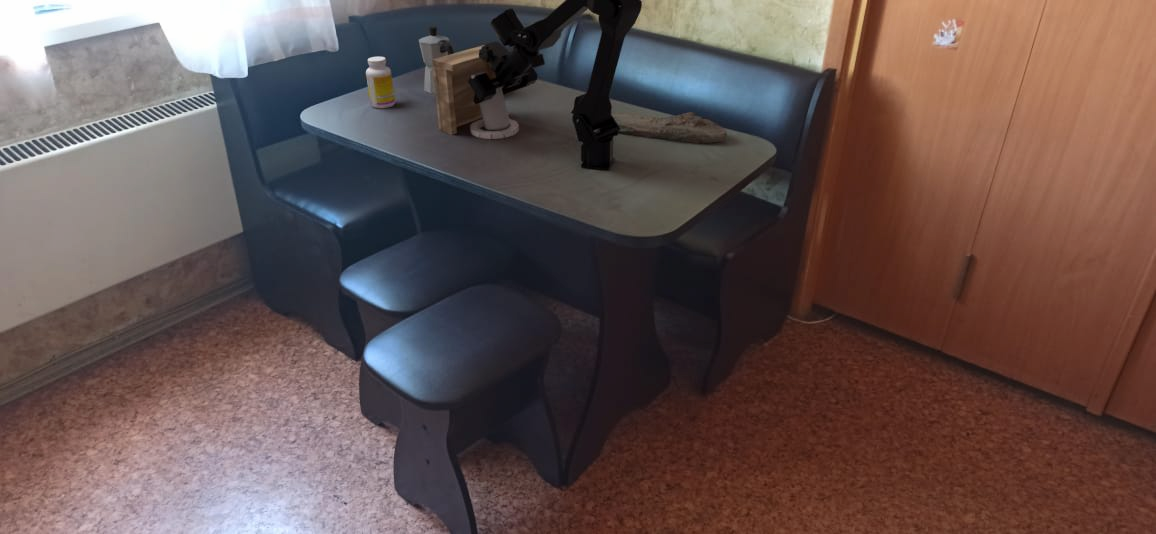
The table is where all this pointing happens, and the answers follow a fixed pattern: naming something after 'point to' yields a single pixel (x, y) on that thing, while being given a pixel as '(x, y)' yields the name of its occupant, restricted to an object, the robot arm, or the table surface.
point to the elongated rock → (671, 127)
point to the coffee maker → (433, 55)
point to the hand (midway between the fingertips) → (488, 97)
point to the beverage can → (495, 112)
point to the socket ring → (495, 134)
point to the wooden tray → (457, 88)
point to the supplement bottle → (380, 83)
